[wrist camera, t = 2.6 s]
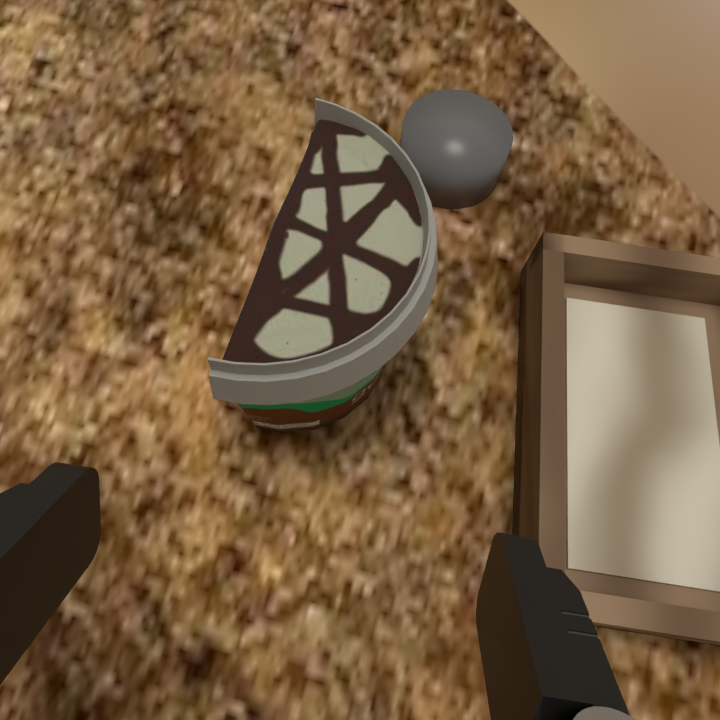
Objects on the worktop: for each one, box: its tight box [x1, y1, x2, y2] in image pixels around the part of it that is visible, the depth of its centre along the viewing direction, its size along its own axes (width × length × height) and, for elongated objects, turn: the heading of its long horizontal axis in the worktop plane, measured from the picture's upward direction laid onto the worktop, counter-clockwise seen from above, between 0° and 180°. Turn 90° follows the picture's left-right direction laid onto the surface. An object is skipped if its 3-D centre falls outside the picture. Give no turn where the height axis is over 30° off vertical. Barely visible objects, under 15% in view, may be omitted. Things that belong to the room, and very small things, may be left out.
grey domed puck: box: [400, 90, 513, 209], centre depth 32 cm, size 6×6×3 cm
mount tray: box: [512, 232, 720, 646], centre depth 26 cm, size 11×17×4 cm, turn 172°
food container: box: [208, 98, 438, 432], centre depth 24 cm, size 12×6×10 cm, turn 165°
